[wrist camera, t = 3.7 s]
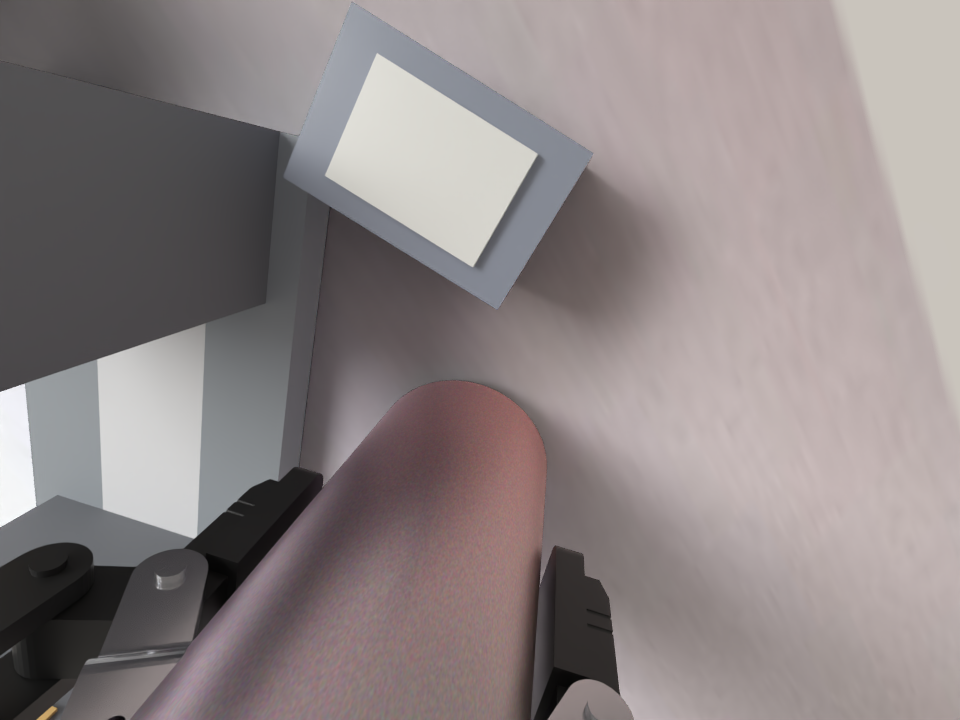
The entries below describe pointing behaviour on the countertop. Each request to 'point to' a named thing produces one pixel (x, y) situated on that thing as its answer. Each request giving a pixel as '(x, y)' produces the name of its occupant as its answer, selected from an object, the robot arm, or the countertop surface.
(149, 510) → the grey u-shaped block
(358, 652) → the beverage can
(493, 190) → the block
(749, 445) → the countertop surface
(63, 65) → the countertop surface
